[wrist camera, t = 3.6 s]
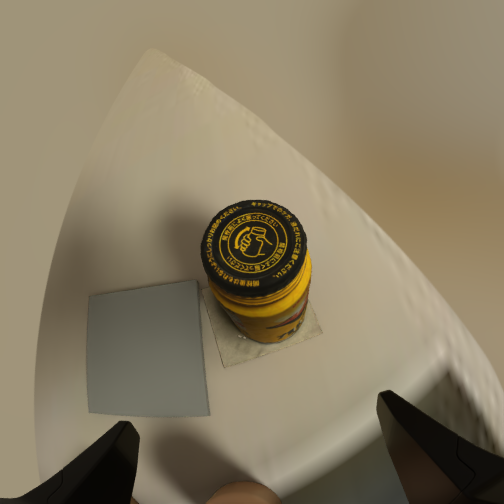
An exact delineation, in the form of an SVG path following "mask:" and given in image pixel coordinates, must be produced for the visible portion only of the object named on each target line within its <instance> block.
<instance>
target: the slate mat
mask: <svg viewBox="0 0 504 504" xmlns="http://www.w3.org/2000/svg"><path fill="white" fill-rule="evenodd" d="M87 391H88V408H89V413H97V414H107V415H120V416H138V417H199V416H210V410H209V401H208V393H207V384H206V374H205V364H204V354H203V342H202V330H201V317H200V303H199V287H198V281H197V280H190V281H184V282H178V283H172V284H166V285H159V286H153V287H147V288H140V289H134V290H127V291H121V292H114V293H107V294H101V295H94V296H89V308H88V326H87Z"/></svg>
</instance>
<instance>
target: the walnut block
mask: <svg viewBox="0 0 504 504" xmlns="http://www.w3.org/2000/svg"><path fill="white" fill-rule="evenodd" d="M130 504H139V503H138V502H137V501H136V500H135V499H134V498H133V497H131V502H130Z"/></svg>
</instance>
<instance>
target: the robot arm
mask: <svg viewBox="0 0 504 504" xmlns="http://www.w3.org/2000/svg"><path fill="white" fill-rule="evenodd" d="M376 410H377V415H378V418H379V422H380V425H381V429H382V432H383V436H384V440H385V443H386V447H387V449H388V452H389V454H390V457H391V459H392V461H393V464H394V466H395V469H396V471H397V474H398V476H399V479H400V481H401V483H402V486H403V489H404V491H405V494H406V496H407V499H408V501H409V504H504V458H503V457H501V456H498V455H496V454H493V453H491V452H489V451H487V450H485V449H482V448H480V447H478V446H476V445H475V444H473V443H471V442H469V441H468V440H466V439H464V438H463V437H461V436H458V434H456V433H455V432H453V431H452V430H450V429H449V428H447V427H445V426H444V425H442V424H441V423H439V422H438V421H436V420H435V419H433V418H432V417H430V416H429V415H427V414H426V413H424V412H422V411H421V410H419V409H418V408H416V407H415V406H413V405H412V404H410V403H409V402H407V401H406V400H405V399H403V398H402V397H400V396H399V395H397V394H396V393H394V392H393V391H391V390H386V391H383V392H380V393H379V394H378V399H377V407H376ZM139 443H140V436H139V434H138V432H137V431H136V429H135V428H134V426H133V425H132V423H131V422H129V421H119V422H118V423H117V424H115V425H114V426H113V427H112V428H111V429H110V430H108V431H107V432H106V433H105V434H104V435H103V436H101V437H100V438H99V439H98V440H97V441H95V442H94V443H93V444H92V445H91V446H89V447H88V448H87V449H86V450H85V451H83V452H82V453H81V454H80V455H79V456H77V457H76V458H75V459H74V460H73V461H71V462H70V463H69V464H68V465H66V466H65V467H64V468H63V470H60V471H59V472H58V473H56V474H55V475H54V476H52V477H51V478H50V479H48V480H47V481H45V482H44V483H42V484H41V485H39V486H38V487H36V488H34V489H33V490H31V491H29V492H28V493H26V494H24V495H23V496H21V497H18V498H11V499H9V498H0V504H130V502H131V497H132V492H133V487H134V482H135V477H136V472H137V463H138V452H139Z"/></svg>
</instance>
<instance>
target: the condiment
mask: <svg viewBox="0 0 504 504" xmlns="http://www.w3.org/2000/svg"><path fill="white" fill-rule="evenodd" d="M306 244H307V237H306V234H305V232H304V230H303V227H302V225H301V224H300V222H299V220H298V218H296V216H295V215H294V214H292V213H291V212H290V211H289V210H288V209H286V208H285V207H283V206H280V205H278V204H276V203H273V202H271V201H268V200H246V201H241V202H238V203H235V204H233V205H230V206H228V207H226V208H225V209H223V210H222V211H220V212H219V213H218V214H217V215H216V216H215V217H214V218H213V219H212V221H211V222H210V224H209V226H208V228H207V230H206V231H205V234H204V236H203V240H202V243H201V258H202V262H203V266H204V269H205V272H206V274H207V276H208V282H209V286H210V287H207V288H204V289H201V290H202V293H203V297H204V300H205V304H206V307H207V311H208V314H209V317H210V321H211V324H212V328H213V331H214V334H215V338H216V341H217V345H218V348H219V351H220V354H221V358H222V361H223V364H224V368H226V367H229V366H232V365H235V364H238V363H242V362H244V361H247V360H251V359H253V358H257V357H259V356H263V355H265V354H268V353H271V352H274V351H277V350H280V349H283V348H285V347H288V346H291V345H294V344H296V343H299V342H302V341H304V340H306V339H309V338H312V337H314V336H317V335H319V334H321V333H323V332H322V330H321V328H320V325H319V323H318V320H317V318H316V316H315V313H314V311H313V309H312V307H311V304H310V302H309V299H308V294H309V286H310V282H311V269H312V265H311V259H310V255H309V252H308V249H307V245H306ZM238 335H240V336H242V337H241V338H240V337H238ZM243 337H246V339H244V338H243Z"/></svg>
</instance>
